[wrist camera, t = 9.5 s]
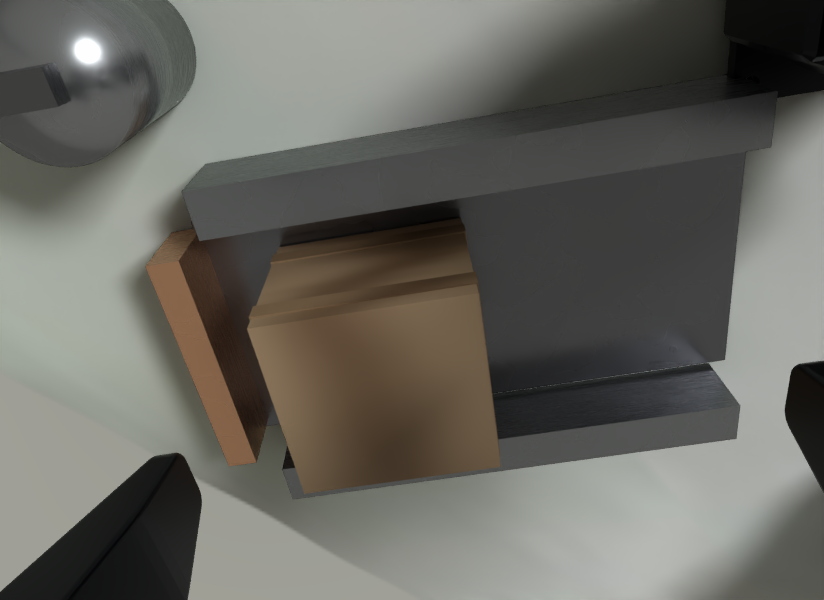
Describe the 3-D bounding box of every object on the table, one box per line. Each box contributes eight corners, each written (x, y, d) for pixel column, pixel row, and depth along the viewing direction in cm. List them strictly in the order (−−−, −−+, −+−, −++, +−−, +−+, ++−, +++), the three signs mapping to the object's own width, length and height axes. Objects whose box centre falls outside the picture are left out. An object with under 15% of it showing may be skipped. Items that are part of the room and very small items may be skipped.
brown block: (462, 216, 20) (480, 291, 16) (482, 369, 23) (502, 467, 19) (276, 246, 21) (244, 327, 16) (320, 393, 23) (303, 495, 19)
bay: (771, -148, 16) (937, -188, 11) (719, 392, 24) (800, 505, 19) (7, -1, 17) (-149, 20, 12) (210, 464, 26) (166, 587, 21)
